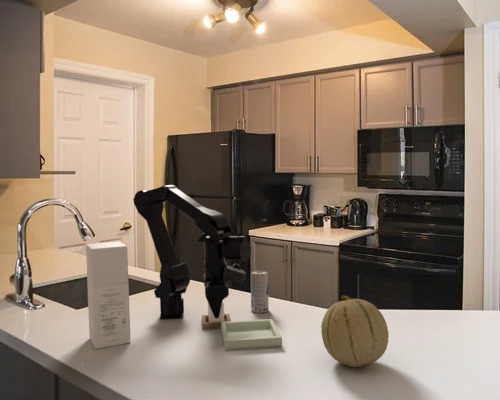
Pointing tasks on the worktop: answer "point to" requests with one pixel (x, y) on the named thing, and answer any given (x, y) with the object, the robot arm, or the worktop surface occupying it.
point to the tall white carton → (108, 294)
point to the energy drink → (259, 291)
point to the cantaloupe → (354, 332)
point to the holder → (214, 324)
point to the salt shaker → (211, 316)
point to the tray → (250, 335)
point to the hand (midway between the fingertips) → (216, 312)
